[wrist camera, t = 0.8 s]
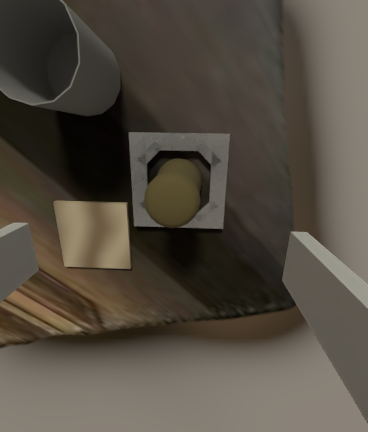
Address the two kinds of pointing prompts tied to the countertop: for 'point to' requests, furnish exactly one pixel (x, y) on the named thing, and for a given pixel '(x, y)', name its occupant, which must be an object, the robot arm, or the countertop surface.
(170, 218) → the pepper shaker
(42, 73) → the cup
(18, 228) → the robot arm
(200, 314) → the countertop surface
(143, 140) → the plate
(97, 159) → the countertop surface
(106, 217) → the coaster
